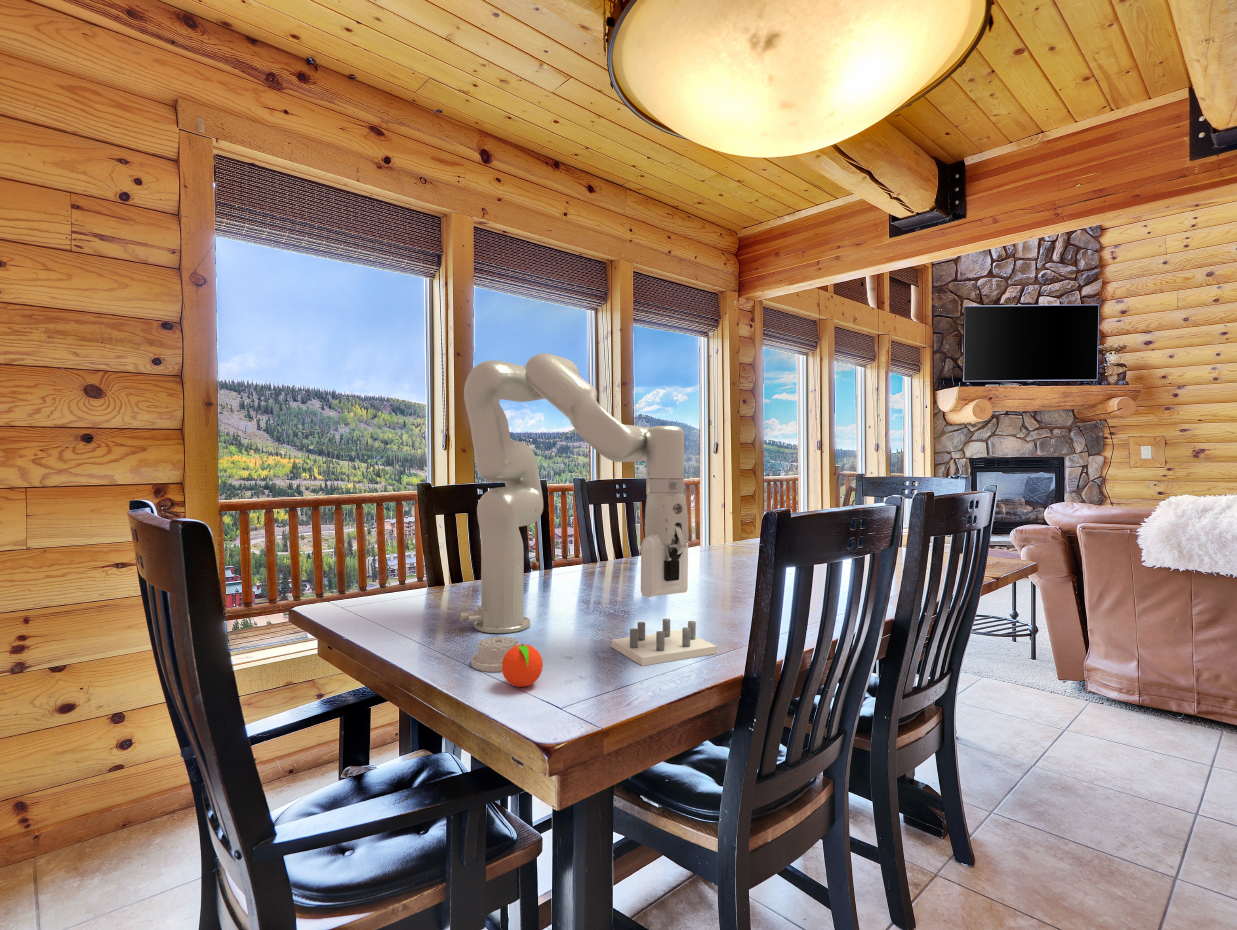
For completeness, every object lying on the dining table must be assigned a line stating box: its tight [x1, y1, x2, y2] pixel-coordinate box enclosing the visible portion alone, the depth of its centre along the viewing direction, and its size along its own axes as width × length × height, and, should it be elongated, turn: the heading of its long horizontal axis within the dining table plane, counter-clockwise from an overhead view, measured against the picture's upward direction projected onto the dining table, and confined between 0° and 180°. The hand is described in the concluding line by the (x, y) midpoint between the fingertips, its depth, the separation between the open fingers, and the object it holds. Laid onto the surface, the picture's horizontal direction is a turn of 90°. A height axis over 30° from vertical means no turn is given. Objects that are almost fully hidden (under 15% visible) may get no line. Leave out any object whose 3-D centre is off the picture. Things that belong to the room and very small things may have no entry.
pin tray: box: [610, 618, 718, 667], centre depth 130 cm, size 17×13×5 cm
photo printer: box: [640, 534, 689, 598], centre depth 130 cm, size 10×4×12 cm, turn 123°
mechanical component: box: [470, 636, 520, 673], centre depth 122 cm, size 10×4×10 cm
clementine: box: [501, 643, 544, 688], centre depth 110 cm, size 8×7×7 cm
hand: (664, 577), depth 130 cm, fingers closed on photo printer, 4 cm apart
